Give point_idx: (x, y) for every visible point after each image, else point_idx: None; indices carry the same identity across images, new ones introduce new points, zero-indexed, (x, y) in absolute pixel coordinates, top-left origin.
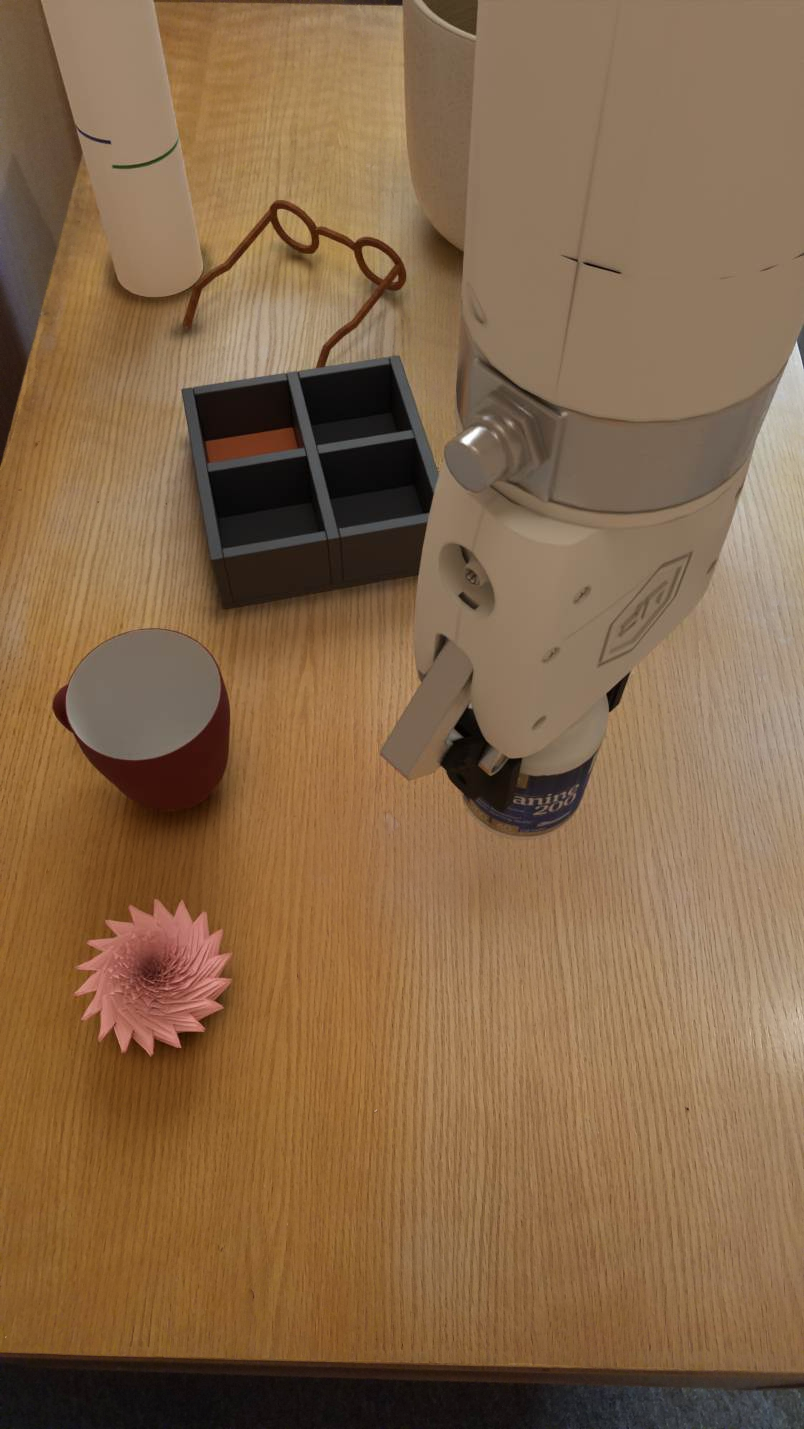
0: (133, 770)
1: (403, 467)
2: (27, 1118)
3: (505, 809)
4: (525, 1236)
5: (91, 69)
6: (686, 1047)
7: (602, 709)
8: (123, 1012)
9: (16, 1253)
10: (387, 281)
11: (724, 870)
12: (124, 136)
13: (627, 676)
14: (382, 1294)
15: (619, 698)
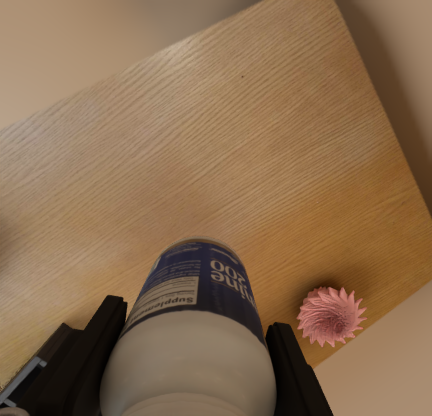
0: None
1: (28, 380)
2: (384, 309)
3: (288, 327)
4: (332, 117)
5: None
6: (215, 91)
7: (149, 352)
8: (355, 319)
9: (426, 282)
10: None
11: (117, 118)
12: None
13: (78, 347)
14: (380, 158)
15: (104, 308)
